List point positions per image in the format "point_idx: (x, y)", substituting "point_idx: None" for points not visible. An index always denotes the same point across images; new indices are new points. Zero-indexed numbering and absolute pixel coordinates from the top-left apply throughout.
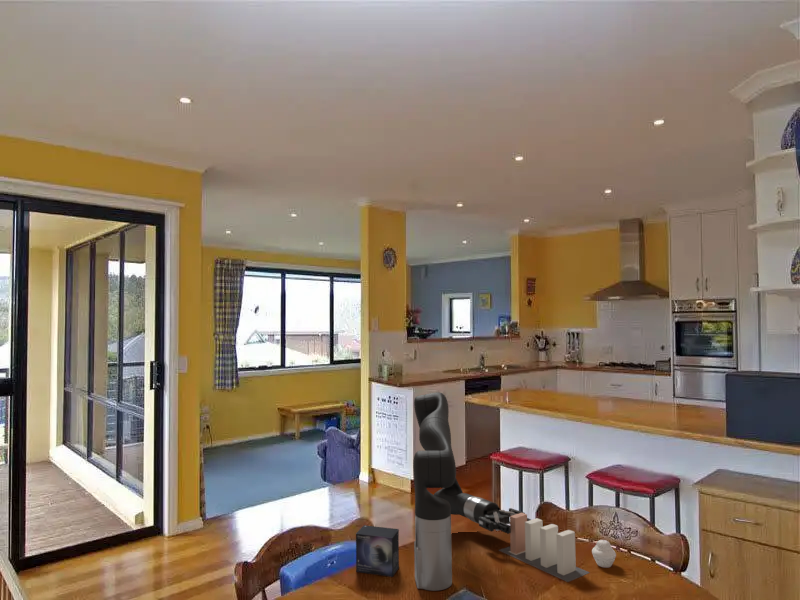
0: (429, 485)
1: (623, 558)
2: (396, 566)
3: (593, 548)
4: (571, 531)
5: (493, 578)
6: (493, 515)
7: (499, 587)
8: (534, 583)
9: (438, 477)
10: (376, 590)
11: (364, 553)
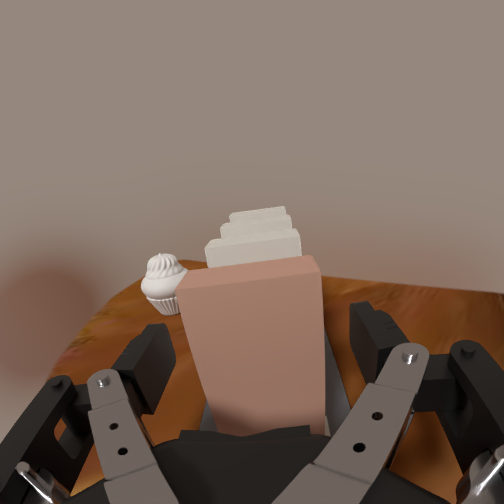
0: None
1: (115, 312)
2: None
3: (170, 281)
4: (235, 213)
5: (472, 327)
6: (369, 492)
7: (465, 302)
8: (380, 302)
9: None
10: None
11: None
